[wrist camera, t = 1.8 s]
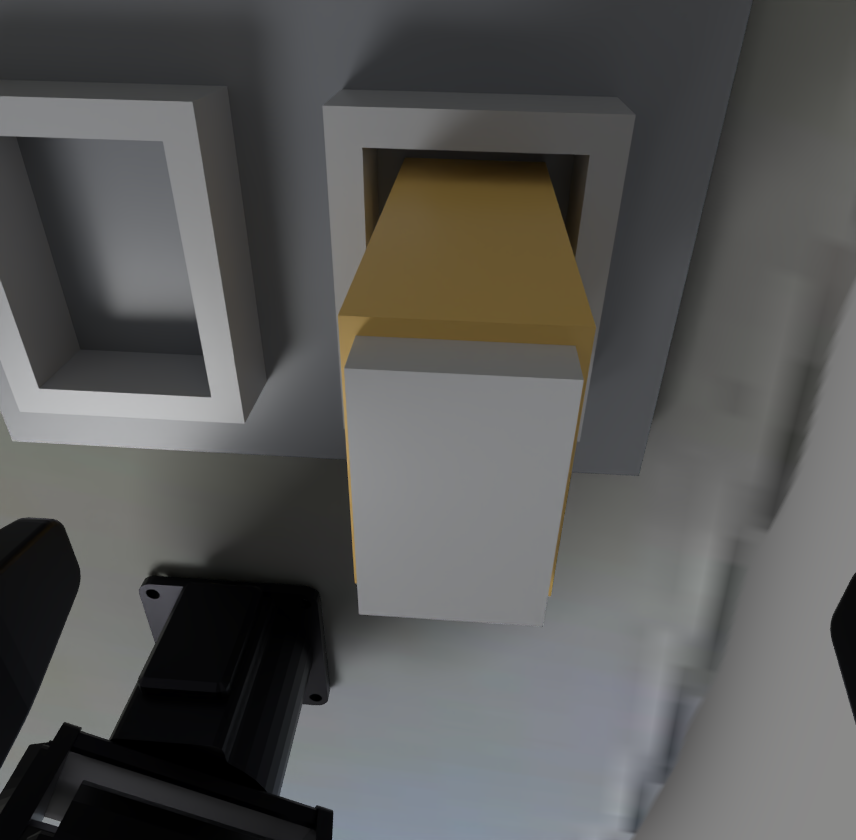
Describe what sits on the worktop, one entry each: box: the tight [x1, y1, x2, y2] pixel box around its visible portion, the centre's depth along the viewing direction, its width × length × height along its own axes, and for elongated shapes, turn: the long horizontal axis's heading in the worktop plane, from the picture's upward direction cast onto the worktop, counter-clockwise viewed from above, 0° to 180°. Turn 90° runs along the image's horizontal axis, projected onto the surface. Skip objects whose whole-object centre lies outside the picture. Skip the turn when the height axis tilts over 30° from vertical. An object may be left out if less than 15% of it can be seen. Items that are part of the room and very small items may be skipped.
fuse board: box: [0, 0, 753, 476], centre depth 16 cm, size 12×18×4 cm, turn 89°
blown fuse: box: [338, 158, 596, 627], centre depth 12 cm, size 3×4×9 cm, turn 179°
